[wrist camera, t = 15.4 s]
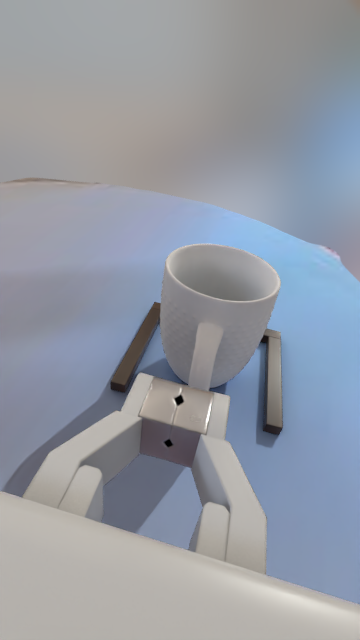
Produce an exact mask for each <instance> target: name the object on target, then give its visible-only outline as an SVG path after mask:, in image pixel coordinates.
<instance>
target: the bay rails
mask: <svg viewBox="0 0 360 640" xmlns="http://www.w3.org/2000/svg"><path fill="white" fill-rule="evenodd" d="M160 306H161V304H160V303H157V302H154V304H153V306H152V308H151V309H150V311H149V313H148V315H147V317H146V319H145V320H144V322H143V324H142V326H141V328H140V329H139V331H138V333H137V335H136V337H135V338H134V340H133V342H132V344H131V346H130V348H129V349H128V351H127V353H126V355H125V357H124V358H123V360H122V362H121V364H120V366H119V367H118V369H117V371H116V373H115V375H114V376H113V378H112V380H111V389H112V390H116V391H120V392H123V393H125V392H126V390H127V388H128V386H129V384H130V382H131V380H132V377H133V375H134V373H135V371H136V369H137V367H138V365H139V363H140V361H141V359H142V357H143V355H144V353H145V351H146V349H147V347H148V345H149V342H150V340H151V338H152V336H153V334H154V332H155V330H156V328H157V326H158V324H159V322H160V312H161V308H160ZM261 342H265V343H266V361H265V390H264V420H263V431H266V432H269V433H273V434H277V435H279V434H280V432H281V430H282V428H283V421H282V377H281V336H280V332H278V331H274V330H270V329H266V330H265V332H264V335H263V337H262V339H261Z"/></svg>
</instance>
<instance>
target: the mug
mask: <svg viewBox="0 0 360 640" xmlns="http://www.w3.org/2000/svg"><path fill="white" fill-rule="evenodd" d="M162 284H163V286H162V293H161V303H160V304H161V306H160V308H161V312H160V329H161V333H160V334H161V338H162V345H163V348H164V353H165V355H166V360H167V361H168V363H169V365H170V367H171V368H172V370H173V371H174V373H175V374H176V375H177V376H178V377H179V378H180V379H181V380H182V381H184V382H185V383H187V384H188V385H189V386H193V387H197V388H201V389H205V390H209V388H214V387H217V386H220V385H222V384H224V383H226V382H228V381H229V380H231V379H233V378H234V377H235V376H236V375H237V374H238V373H239V372H240V371H241V370H242V369H243V368H244V366H245V365H246V364H247V363H248V362H249V360H250V358H251V357H252V356H253V355H254V352H255V350H256V349H257V348H258V345H259V343H260V341H261V339H262V337H263V335H264V332H265V330H266V328H267V324H268V322H269V320H270V317H271V313H272V311H273V309H274V304H275V301H276V298H277V296H278V293H279V290H280V286H281V282H280V278H279V276H278V274H277V272H276V271H275V270H274V268H273V267H272V266H271V265H270V264H269V263H267V262H266V261H264V260H263V259H261V258H260V257H258V256H256V255H254V254H252V253H249V252H247V251H244V250H241V249H237V248H234V247H229V246H224V245H216V244H194V245H188V246H184V247H181V248H178V249H176V250H175V251H173V252H172V253H171V254H170V255H169V256H168V257H167V259H166V262H165V269H164V277H163V281H162Z"/></svg>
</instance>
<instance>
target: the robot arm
mask: <svg viewBox="0 0 360 640" xmlns="http://www.w3.org/2000/svg"><path fill="white" fill-rule="evenodd" d="M229 405H230V396H228V395H224V394H220V393H216V392H213V391H209V390H205V389H201V388H197V387H193V386H189V385H185V384H184V385H183V384H179V383H176V382H173V381H169V380H166V379H162V378H159V377H155V376H151V375H148V374H144V373H139V374H138V375H137V377H136V379H135V381H134V383H133V386H132V388H131V390H130V392H129V394H128V396H127V398H126V400H125V403H124V405H123V407H122V409H121V411H114V412H113V413H111V414H109V415H108V416H106V417H105V418H103V419H102V420H100V421H98V422H97V423H95V424H94V425H92V426H90V427H89V428H87V429H86V430H84V431H82V432H81V433H79V434H78V435H76V436H74V437H73V438H71V439H70V440H68V441H67V442H65V443H63V444H62V445H60V446H59V447H57V448H55V449H54V450H52V451H51V452H49V454H48V455H47V457H46V459H45V460H44V462H43V463H42V465H41V467H40V468H39V470H38V472H37V473H36V475H35V476H34V478H33V480H32V481H31V483H30V485H29V486H28V488H27V490H26V491H25V493H24V494H23V496H22V498H21V497H18V496H15V495H12V494H9V493H6V492H2V491H0V640H360V604H356V603H353V602H350V601H347V600H344V599H341V598H338V597H334V596H331V595H328V594H325V593H322V592H319V591H315V590H312V589H309V588H306V587H303V586H300V585H296V584H293V583H290V582H287V581H284V580H281V579H278V578H274V577H271V576H268V575H266V536H267V517H266V515H265V513H264V511H263V509H262V507H261V505H260V503H259V501H258V499H257V497H256V495H255V493H254V491H253V489H252V487H251V485H250V483H249V481H248V479H247V477H246V475H245V473H244V470H243V468H242V466H241V464H240V462H239V460H238V458H237V456H236V454H235V452H234V450H233V448H232V446H231V444H230V442H228V441H225V435H226V427H227V420H228V412H229ZM139 453H141V454H144V455H148V456H152V457H156V458H160V459H164V460H167V461H170V462H173V463H177V464H180V465H183V466H186V467H189V468H191V471H192V474H193V477H194V481H195V484H196V487H197V490H198V494H199V497H200V500H201V504H202V507H203V509H202V511H201V514H200V517H199V519H198V522H197V525H196V527H195V530H194V532H193V535H192V538H191V540H190V544H189V549H188V550H186V549H183V548H180V547H176V546H173V545H170V544H167V543H164V542H161V541H157V540H154V539H151V538H148V537H145V536H142V535H139V534H135V533H132V532H129V531H126V530H123V529H120V528H116V527H113V526H110V525H107V524H104V523H101V521H102V518H103V516H104V510H103V487H104V486H105V485H106V484H107V483H108V482H109V481H110V480H111V479H113V478H114V477H115V476H116V475H117V474H118V473H119V472H120V471H122V470H123V469H124V468H125V467H126V466H127V465H128V464H129V463H131V462H132V461H133V460H134V459H135V458H136V457H137V456H138V455H139Z"/></svg>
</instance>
